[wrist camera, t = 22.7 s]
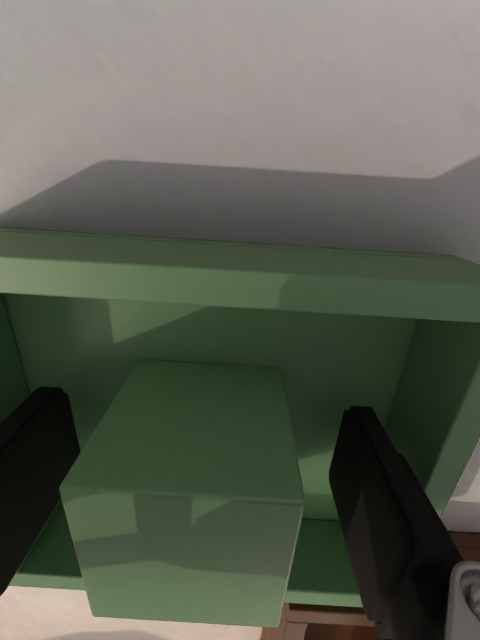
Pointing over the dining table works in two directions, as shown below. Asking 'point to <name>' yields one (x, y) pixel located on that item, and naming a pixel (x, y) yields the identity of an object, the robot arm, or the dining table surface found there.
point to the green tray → (250, 357)
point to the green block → (189, 497)
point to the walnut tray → (343, 609)
